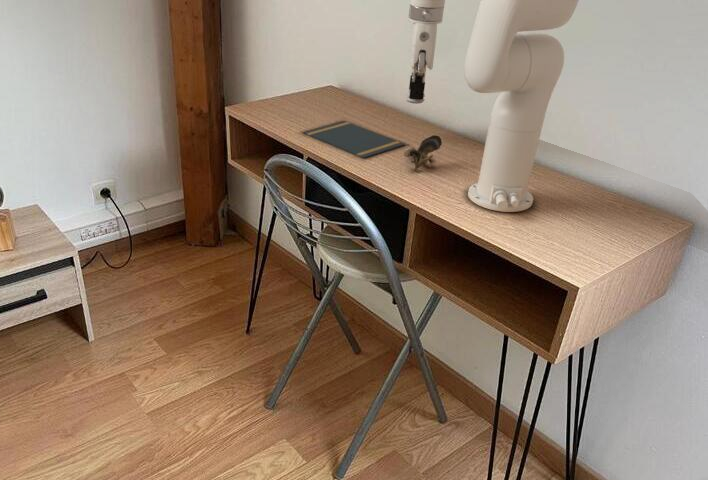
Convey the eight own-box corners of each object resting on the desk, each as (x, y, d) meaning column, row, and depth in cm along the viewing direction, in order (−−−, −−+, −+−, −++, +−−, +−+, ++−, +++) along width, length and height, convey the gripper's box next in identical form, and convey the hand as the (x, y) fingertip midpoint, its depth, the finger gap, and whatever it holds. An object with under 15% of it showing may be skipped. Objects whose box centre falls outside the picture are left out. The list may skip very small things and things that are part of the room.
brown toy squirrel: (441, 170, 137) (449, 149, 143) (425, 143, 134) (434, 123, 140) (410, 182, 141) (419, 161, 147) (394, 156, 138) (404, 136, 144)
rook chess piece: (425, 104, 151) (430, 69, 146) (406, 103, 151) (410, 69, 146) (422, 98, 154) (427, 65, 150) (404, 98, 154) (408, 64, 150)
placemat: (404, 145, 153) (404, 143, 152) (364, 158, 145) (364, 157, 145) (343, 121, 166) (343, 120, 166) (303, 133, 158) (303, 131, 158)
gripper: (445, 22, 135) (433, 107, 144) (440, 8, 149) (429, 86, 159) (409, 20, 135) (400, 105, 145) (408, 6, 149) (399, 85, 159)
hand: (415, 94), depth 152 cm, fingers closed on rook chess piece, 4 cm apart
